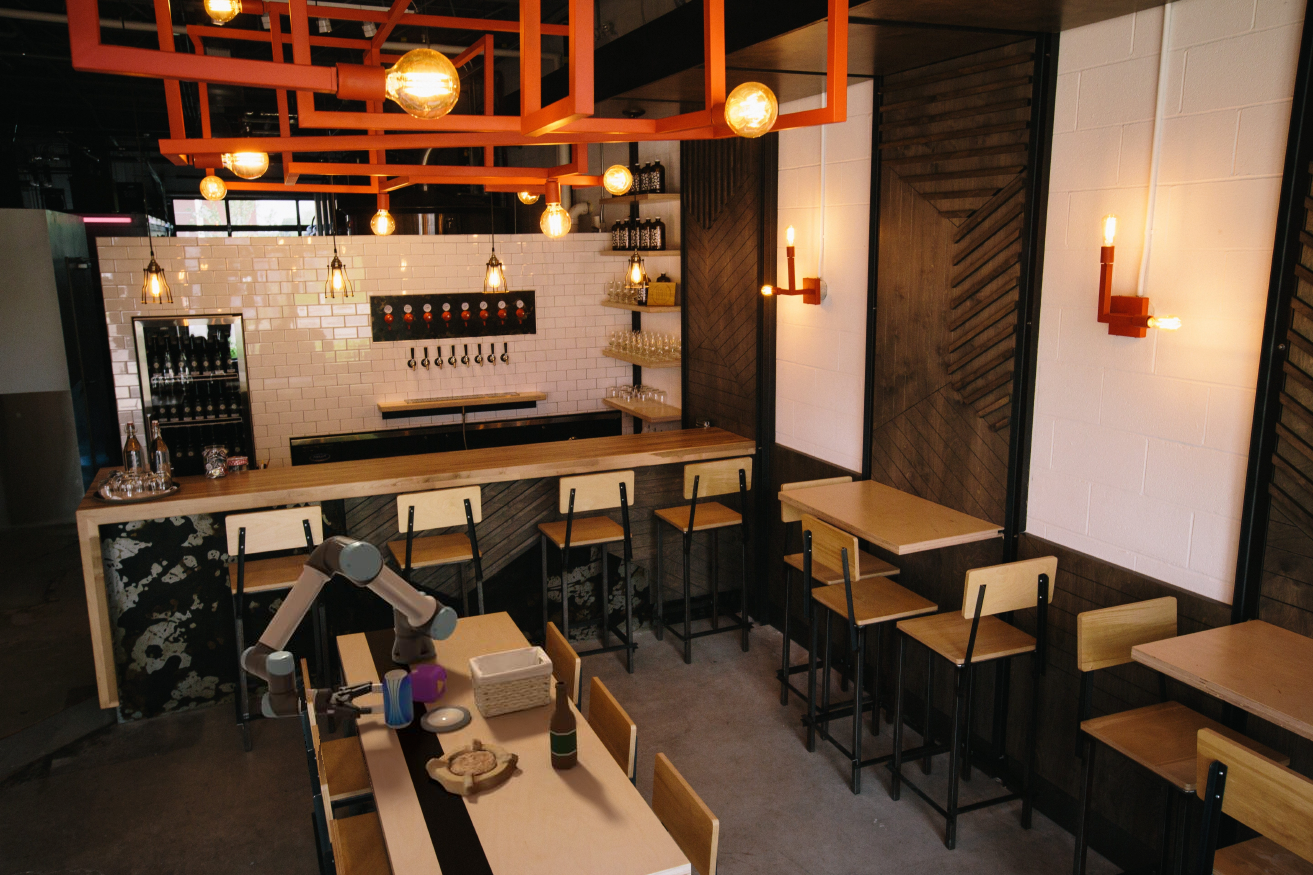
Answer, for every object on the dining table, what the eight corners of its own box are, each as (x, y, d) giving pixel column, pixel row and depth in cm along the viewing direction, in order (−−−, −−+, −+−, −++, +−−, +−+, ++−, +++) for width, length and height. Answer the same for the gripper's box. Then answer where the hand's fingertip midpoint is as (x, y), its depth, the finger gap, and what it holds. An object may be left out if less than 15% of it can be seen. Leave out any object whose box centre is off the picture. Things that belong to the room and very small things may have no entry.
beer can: (388, 717, 271) (384, 668, 268) (416, 715, 272) (412, 667, 269) (382, 730, 263) (378, 681, 260) (411, 728, 263) (407, 679, 261)
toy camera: (452, 685, 292) (450, 657, 290) (438, 705, 278) (436, 675, 276) (421, 684, 293) (419, 656, 291) (405, 704, 279) (403, 675, 278)
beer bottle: (583, 758, 245) (579, 678, 241) (571, 772, 238) (568, 690, 234) (558, 753, 248) (554, 674, 243) (545, 768, 240) (541, 687, 236)
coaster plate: (425, 709, 275) (425, 706, 275) (473, 706, 276) (473, 703, 276) (416, 733, 260) (416, 730, 260) (467, 730, 262) (467, 727, 261)
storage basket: (541, 684, 291) (539, 643, 288) (556, 705, 276) (554, 662, 274) (469, 700, 281) (467, 657, 279) (481, 722, 267) (478, 677, 264)
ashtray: (441, 807, 224) (439, 789, 223) (420, 763, 245) (419, 747, 244) (528, 781, 235) (528, 764, 234) (501, 741, 256) (501, 726, 255)
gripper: (330, 694, 276) (398, 690, 278) (305, 734, 252) (380, 729, 253) (328, 672, 275) (396, 668, 277) (302, 710, 251) (378, 705, 252)
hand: (388, 697), depth 265 cm, fingers open, 13 cm apart
